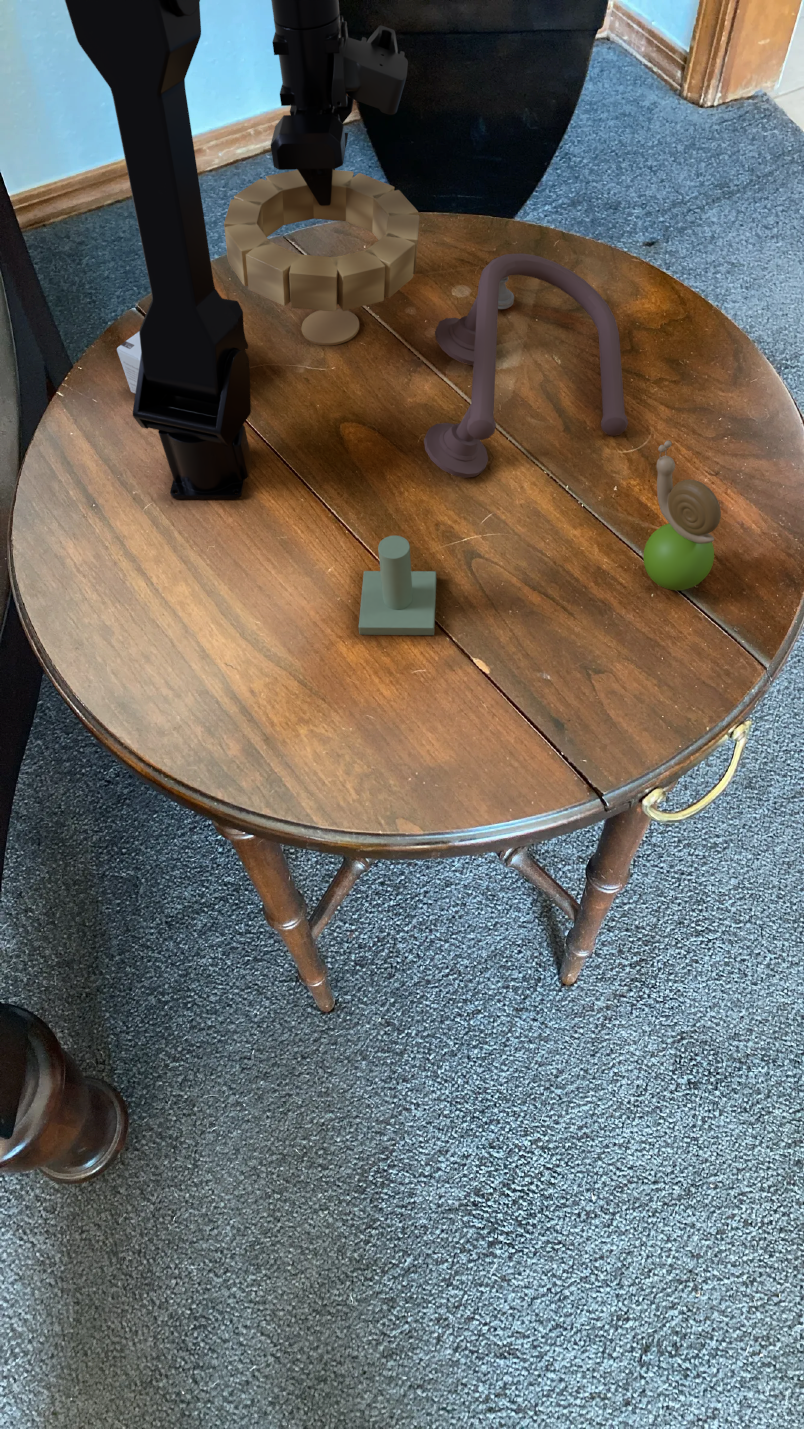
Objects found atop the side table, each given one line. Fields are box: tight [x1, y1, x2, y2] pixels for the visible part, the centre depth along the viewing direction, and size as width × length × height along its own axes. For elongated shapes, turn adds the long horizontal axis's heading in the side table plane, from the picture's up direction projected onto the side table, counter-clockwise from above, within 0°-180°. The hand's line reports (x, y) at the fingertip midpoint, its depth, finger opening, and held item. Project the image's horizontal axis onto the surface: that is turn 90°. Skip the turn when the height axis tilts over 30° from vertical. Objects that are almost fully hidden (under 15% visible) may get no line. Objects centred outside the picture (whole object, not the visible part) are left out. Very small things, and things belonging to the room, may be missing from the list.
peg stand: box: [358, 535, 437, 636], centre depth 76 cm, size 6×6×7 cm
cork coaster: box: [301, 307, 360, 347], centre depth 101 cm, size 6×6×1 cm
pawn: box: [498, 276, 515, 310], centre depth 100 cm, size 3×3×4 cm
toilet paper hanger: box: [423, 252, 629, 479], centre depth 92 cm, size 28×7×17 cm
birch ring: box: [223, 169, 421, 312], centre depth 92 cm, size 18×18×4 cm
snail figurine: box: [642, 440, 722, 591], centre depth 75 cm, size 5×6×12 cm
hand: (326, 195), depth 97 cm, fingers closed on birch ring, 3 cm apart
